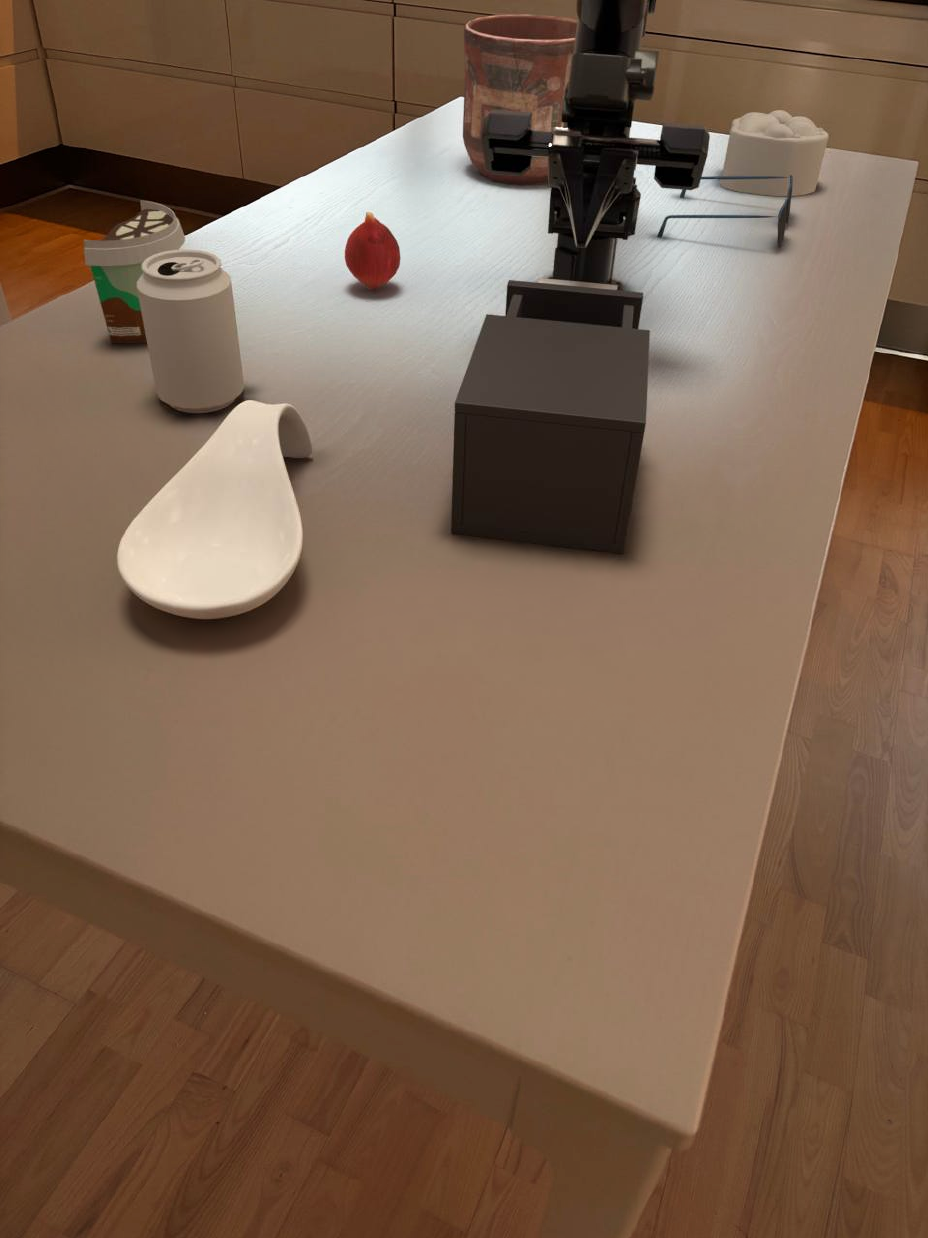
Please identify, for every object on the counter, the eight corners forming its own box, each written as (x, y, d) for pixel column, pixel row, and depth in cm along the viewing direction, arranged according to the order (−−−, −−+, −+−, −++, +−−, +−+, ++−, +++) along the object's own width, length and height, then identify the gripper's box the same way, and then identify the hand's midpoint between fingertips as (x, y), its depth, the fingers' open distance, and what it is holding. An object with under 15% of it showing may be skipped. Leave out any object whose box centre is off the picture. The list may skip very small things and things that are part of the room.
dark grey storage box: (480, 434, 83) (486, 313, 76) (630, 451, 82) (650, 329, 75) (450, 533, 72) (454, 401, 65) (623, 554, 71) (646, 422, 64)
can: (164, 377, 89) (140, 243, 82) (248, 376, 90) (233, 243, 82) (151, 418, 84) (124, 278, 76) (241, 417, 84) (224, 278, 76)
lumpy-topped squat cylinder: (723, 168, 144) (735, 103, 139) (814, 178, 142) (831, 112, 137) (718, 189, 137) (732, 121, 131) (815, 200, 134) (833, 131, 129)
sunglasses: (779, 255, 118) (784, 212, 115) (656, 253, 122) (657, 211, 119) (791, 211, 130) (796, 171, 127) (679, 211, 135) (680, 172, 132)
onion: (408, 283, 108) (408, 208, 102) (388, 303, 103) (387, 225, 98) (359, 275, 109) (356, 200, 104) (337, 294, 105) (333, 217, 100)
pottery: (589, 194, 133) (606, 42, 121) (458, 189, 133) (463, 36, 121) (579, 156, 147) (593, 16, 135) (460, 152, 146) (465, 11, 135)
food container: (165, 356, 92) (146, 249, 86) (103, 348, 93) (80, 241, 87) (216, 305, 102) (202, 204, 95) (160, 298, 103) (143, 198, 96)
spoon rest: (283, 655, 62) (273, 563, 57) (99, 639, 62) (74, 546, 58) (353, 459, 80) (349, 376, 75) (210, 447, 80) (197, 365, 76)
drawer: (508, 354, 93) (514, 261, 87) (630, 366, 92) (644, 273, 86) (481, 449, 80) (486, 347, 74) (622, 465, 79) (639, 362, 73)
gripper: (490, -4, 78) (463, 186, 77) (731, 12, 76) (707, 206, 75) (498, 85, 89) (474, 252, 88) (708, 101, 87) (687, 271, 86)
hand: (581, 245), depth 84 cm, fingers closed
